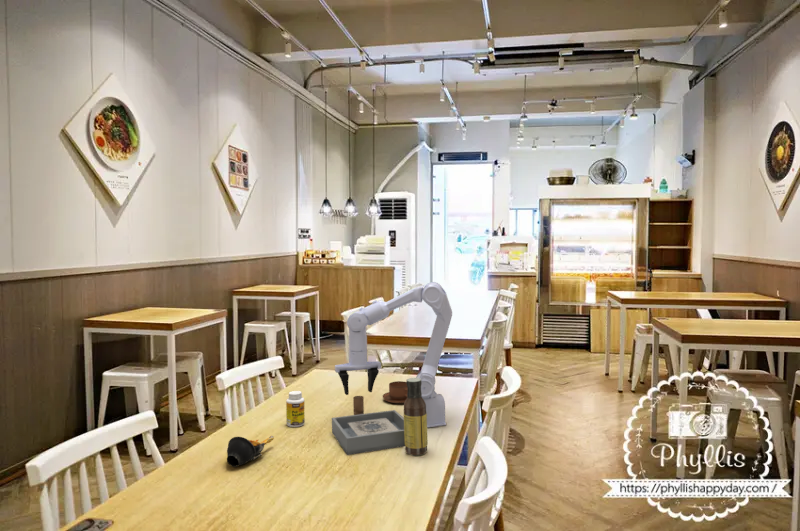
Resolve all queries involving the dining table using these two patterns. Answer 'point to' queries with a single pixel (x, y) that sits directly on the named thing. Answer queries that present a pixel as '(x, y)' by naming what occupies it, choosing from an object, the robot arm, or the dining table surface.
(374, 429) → the bored plate
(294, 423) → the supplement bottle
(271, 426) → the dining table surface
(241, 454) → the fried shrimp in bowl
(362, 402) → the peg
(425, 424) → the sauce bottle
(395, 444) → the open box
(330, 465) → the dining table surface
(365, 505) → the dining table surface
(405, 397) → the cup and saucer
